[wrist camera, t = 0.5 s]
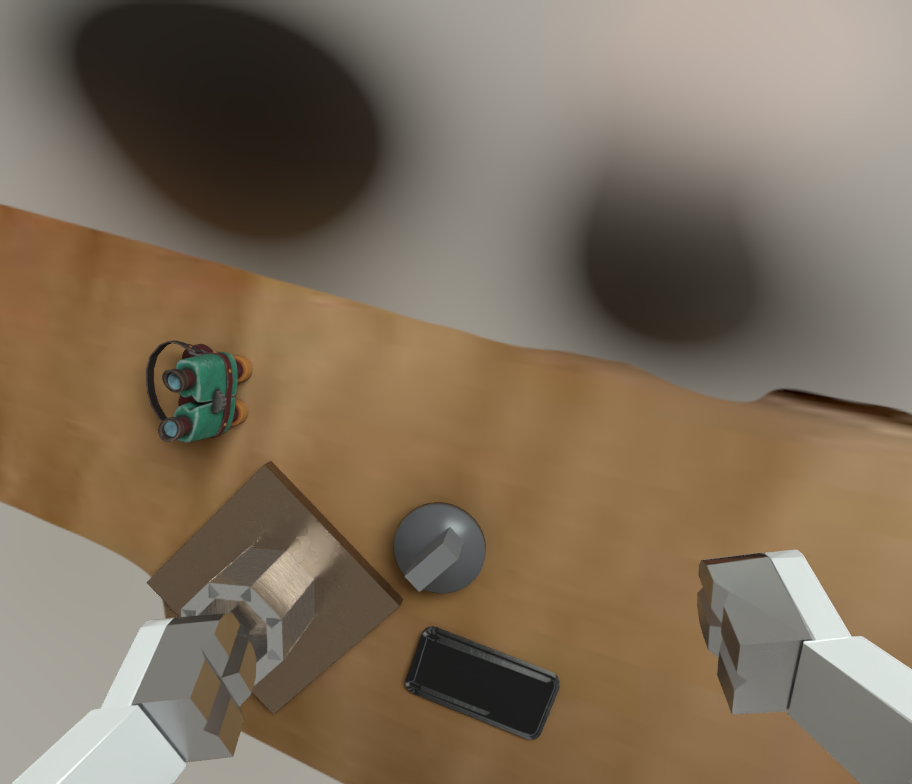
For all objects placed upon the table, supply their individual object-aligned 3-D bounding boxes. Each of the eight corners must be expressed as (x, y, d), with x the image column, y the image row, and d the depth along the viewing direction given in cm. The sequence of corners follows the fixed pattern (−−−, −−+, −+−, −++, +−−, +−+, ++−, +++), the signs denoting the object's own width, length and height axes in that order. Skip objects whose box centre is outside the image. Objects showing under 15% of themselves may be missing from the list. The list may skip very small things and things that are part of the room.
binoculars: (99, 340, 56) (196, 361, 54) (178, 334, 66) (263, 351, 64) (93, 437, 58) (188, 461, 55) (172, 416, 68) (254, 436, 66)
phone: (424, 626, 66) (562, 680, 64) (426, 621, 67) (562, 674, 65) (402, 690, 67) (536, 744, 66) (405, 683, 68) (537, 736, 67)
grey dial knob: (506, 542, 64) (500, 573, 57) (443, 596, 66) (430, 632, 59) (444, 477, 63) (431, 501, 57) (383, 533, 65) (363, 562, 59)
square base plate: (403, 599, 66) (378, 650, 57) (279, 705, 71) (237, 768, 61) (271, 460, 66) (224, 489, 57) (155, 576, 70) (94, 620, 61)
